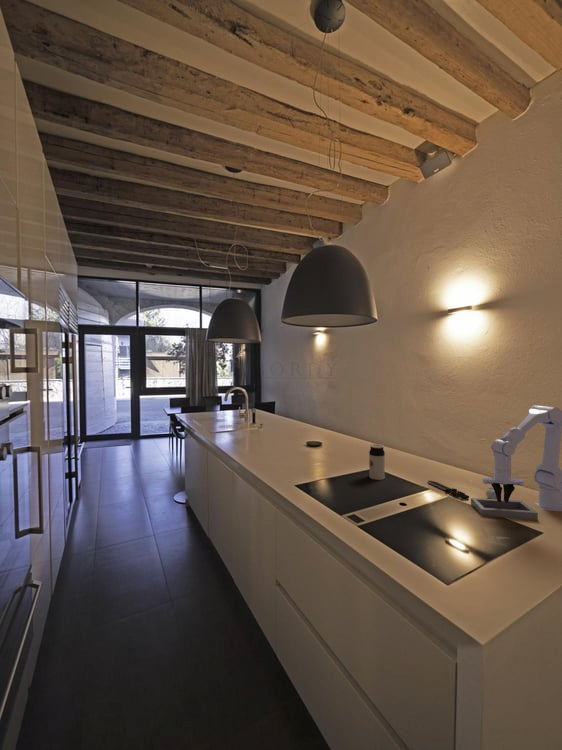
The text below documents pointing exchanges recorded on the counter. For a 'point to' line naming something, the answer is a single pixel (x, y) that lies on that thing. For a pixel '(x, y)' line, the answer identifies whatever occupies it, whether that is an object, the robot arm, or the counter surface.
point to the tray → (504, 508)
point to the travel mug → (376, 462)
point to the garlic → (491, 493)
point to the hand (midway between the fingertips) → (502, 501)
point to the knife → (453, 491)
